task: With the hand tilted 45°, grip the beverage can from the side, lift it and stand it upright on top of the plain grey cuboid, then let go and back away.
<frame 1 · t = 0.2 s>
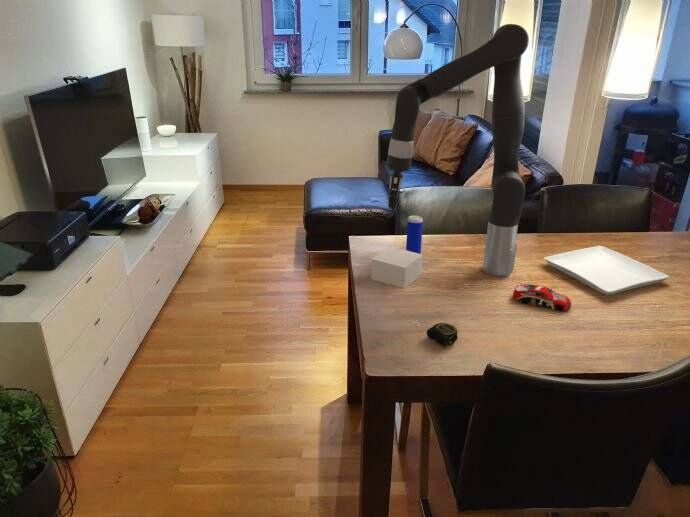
hand: (392, 203, 169), 22 cm above the table, fingers open, 8 cm apart
square plate: (602, 276, 172), on the table
tape measure: (442, 342, 137), on the table
beverage can: (413, 258, 184), on the table
race car: (540, 304, 156), on the table
plain grey cuboid: (396, 276, 171), on the table
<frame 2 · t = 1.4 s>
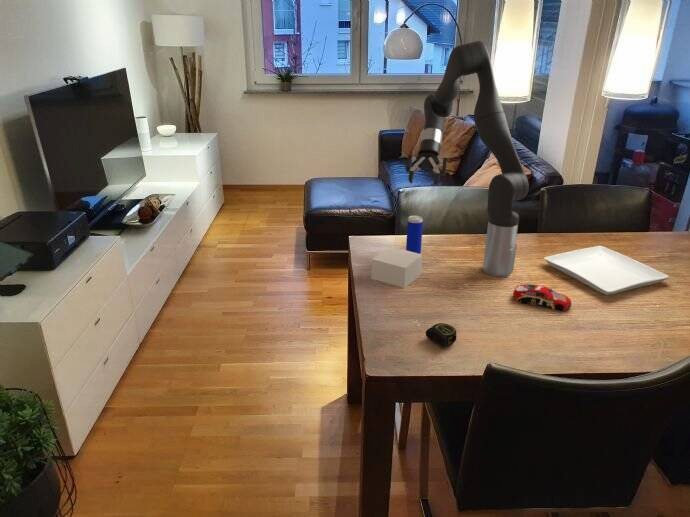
hand: (422, 183, 184), 24 cm above the table, fingers open, 8 cm apart
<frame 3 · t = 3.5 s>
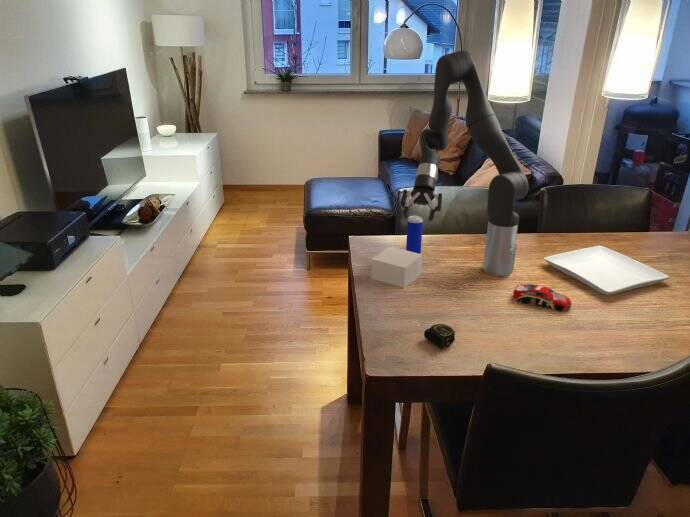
hand: (417, 219, 184), 13 cm above the table, fingers open, 8 cm apart
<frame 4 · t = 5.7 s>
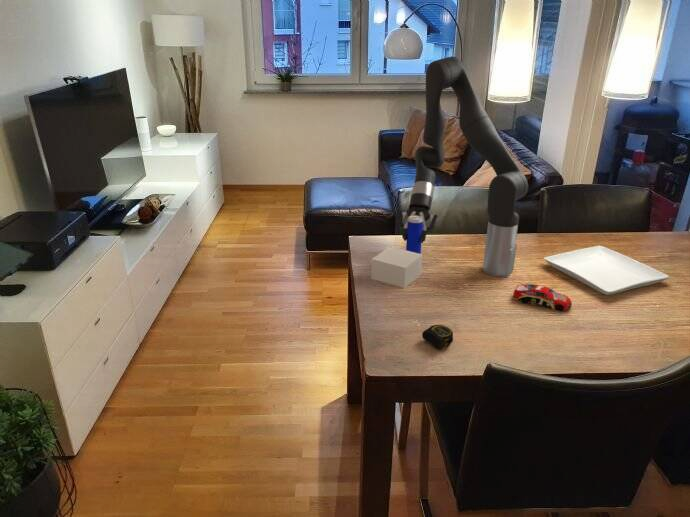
hand: (413, 240, 180), 7 cm above the table, fingers closed on beverage can, 5 cm apart
beverage can: (413, 258, 184), on the table, touching gripper
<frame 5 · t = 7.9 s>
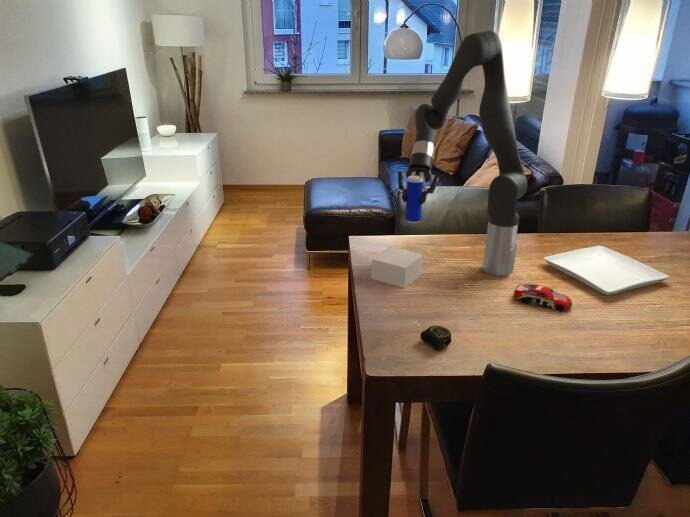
hand: (413, 202, 172), 22 cm above the table, fingers closed on beverage can, 5 cm apart
beverage can: (413, 221, 176), point 14 cm above the table, touching gripper
when the fingers open (15 cm above the table, at t = 10.3 s): beverage can drops 1 cm, resting on plain grey cuboid.
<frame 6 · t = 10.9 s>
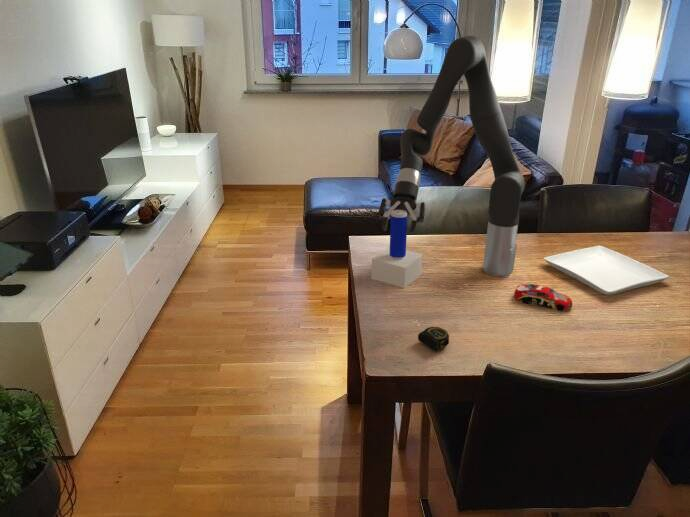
hand: (397, 231, 163), 16 cm above the table, fingers open, 8 cm apart
beverage can: (397, 256, 168), point 7 cm above the table, touching plain grey cuboid
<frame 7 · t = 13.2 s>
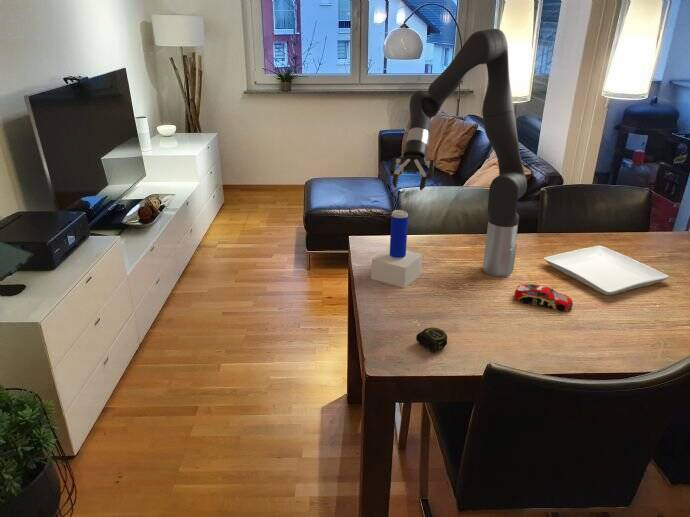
hand: (407, 187, 170), 27 cm above the table, fingers open, 8 cm apart
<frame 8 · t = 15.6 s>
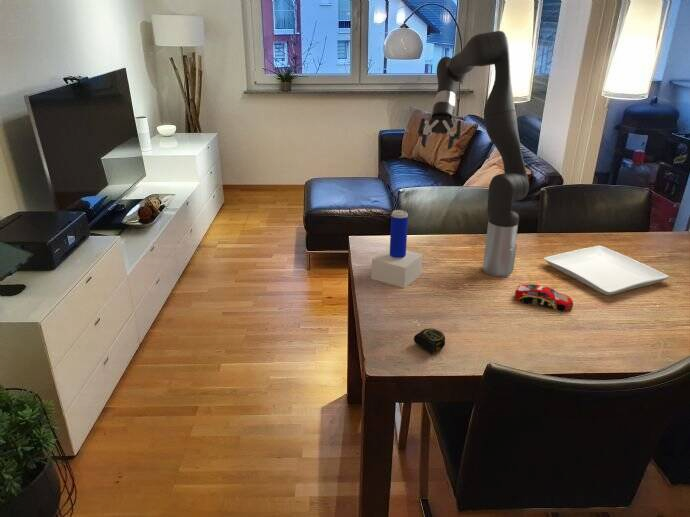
hand: (436, 147, 179), 37 cm above the table, fingers open, 8 cm apart
at the end: beverage can inside the target area on the plain grey cuboid (0.2 cm from its centre), point 6.8 cm above the plain grey cuboid's base; beverage can tilted 0°; the gripper is holding nothing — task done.
